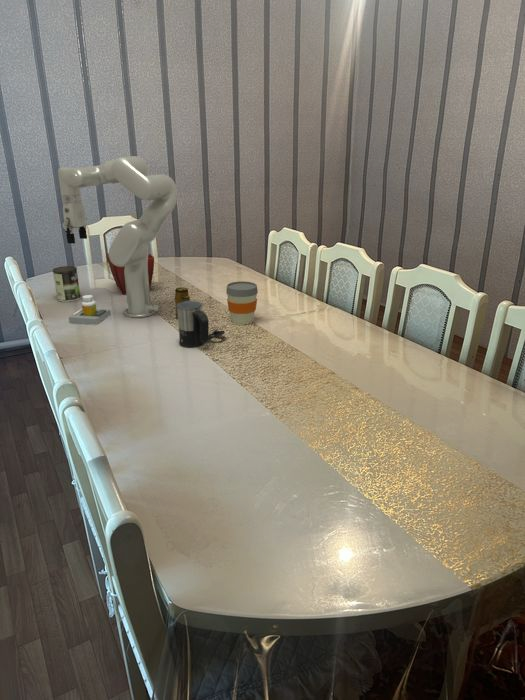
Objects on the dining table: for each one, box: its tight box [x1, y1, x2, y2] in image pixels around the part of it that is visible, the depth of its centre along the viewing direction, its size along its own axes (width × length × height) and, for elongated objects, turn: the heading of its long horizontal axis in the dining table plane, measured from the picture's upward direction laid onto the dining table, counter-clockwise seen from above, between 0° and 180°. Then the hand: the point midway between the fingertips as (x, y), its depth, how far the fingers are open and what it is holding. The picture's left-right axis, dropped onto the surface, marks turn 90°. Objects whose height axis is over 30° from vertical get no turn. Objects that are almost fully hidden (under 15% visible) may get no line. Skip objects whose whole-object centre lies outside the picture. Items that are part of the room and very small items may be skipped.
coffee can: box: [52, 265, 82, 303], centre depth 236 cm, size 10×10×14 cm
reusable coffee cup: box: [225, 280, 259, 325], centre depth 208 cm, size 13×13×15 cm
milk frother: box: [176, 300, 226, 348], centre depth 189 cm, size 14×16×15 cm
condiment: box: [171, 287, 191, 320], centre depth 213 cm, size 7×8×12 cm
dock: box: [68, 308, 111, 325], centre depth 213 cm, size 12×12×3 cm
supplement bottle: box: [81, 294, 97, 316], centre depth 212 cm, size 5×5×10 cm
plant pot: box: [106, 252, 155, 295], centre depth 248 cm, size 19×19×17 cm
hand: (77, 240), depth 219 cm, fingers open, 9 cm apart
